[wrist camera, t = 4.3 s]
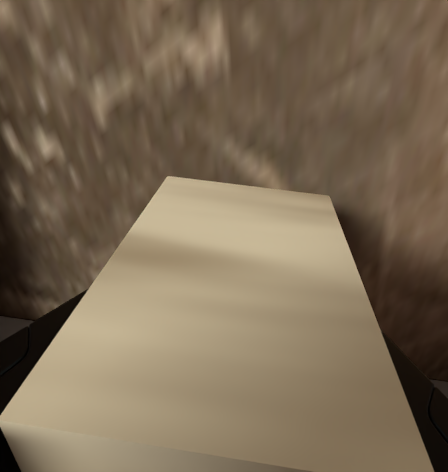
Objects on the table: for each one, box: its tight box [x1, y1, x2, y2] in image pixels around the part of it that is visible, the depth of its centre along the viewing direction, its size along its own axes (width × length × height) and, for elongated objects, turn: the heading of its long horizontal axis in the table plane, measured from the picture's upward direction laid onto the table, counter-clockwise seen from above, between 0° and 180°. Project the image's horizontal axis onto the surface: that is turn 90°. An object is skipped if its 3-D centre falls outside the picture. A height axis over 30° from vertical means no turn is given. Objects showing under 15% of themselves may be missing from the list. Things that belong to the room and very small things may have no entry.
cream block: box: [0, 176, 434, 472], centre depth 8 cm, size 4×4×7 cm
